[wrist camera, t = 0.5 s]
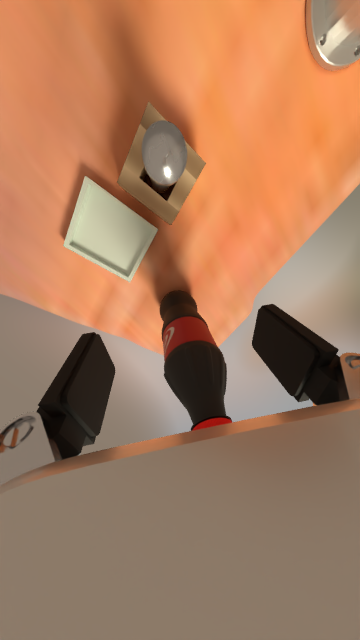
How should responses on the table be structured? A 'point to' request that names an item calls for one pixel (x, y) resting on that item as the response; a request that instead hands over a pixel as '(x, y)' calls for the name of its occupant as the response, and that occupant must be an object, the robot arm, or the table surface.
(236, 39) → the table surface
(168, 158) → the pin
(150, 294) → the table surface
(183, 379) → the cola bottle
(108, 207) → the tray
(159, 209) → the square wooden holder
